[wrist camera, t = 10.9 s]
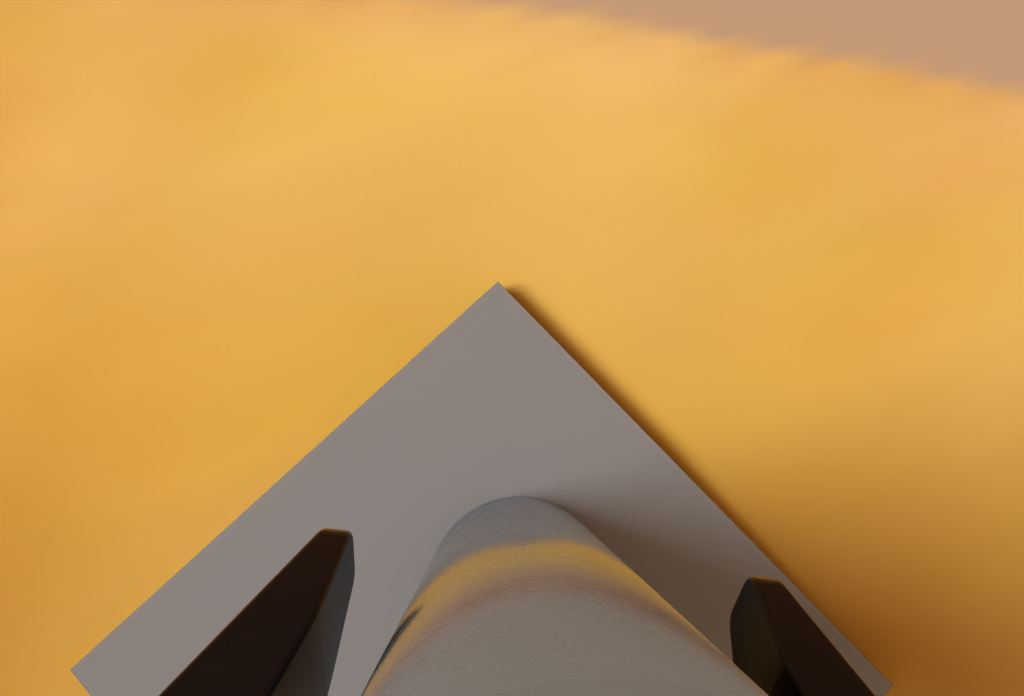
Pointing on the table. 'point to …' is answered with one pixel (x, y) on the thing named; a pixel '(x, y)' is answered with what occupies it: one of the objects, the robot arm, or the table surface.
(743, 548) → the gray mat
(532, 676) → the tin canister
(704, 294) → the table surface
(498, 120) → the table surface
